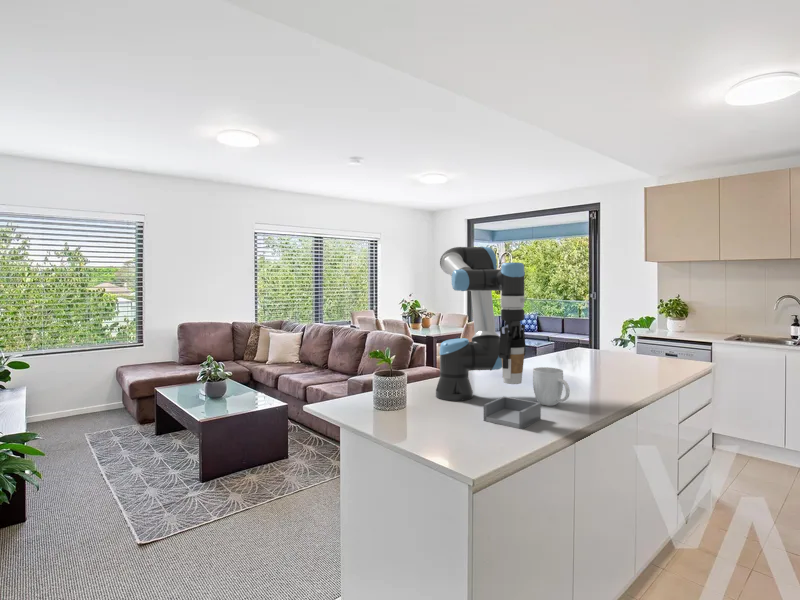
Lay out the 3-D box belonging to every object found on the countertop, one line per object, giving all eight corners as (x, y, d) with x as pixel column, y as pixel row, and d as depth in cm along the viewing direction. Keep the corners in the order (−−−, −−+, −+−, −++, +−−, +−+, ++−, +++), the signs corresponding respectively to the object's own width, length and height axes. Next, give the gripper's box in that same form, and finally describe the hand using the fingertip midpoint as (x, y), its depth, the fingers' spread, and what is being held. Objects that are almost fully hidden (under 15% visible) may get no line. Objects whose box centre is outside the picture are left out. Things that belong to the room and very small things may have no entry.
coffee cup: (521, 386, 149) (521, 340, 149) (496, 383, 154) (496, 338, 153) (528, 381, 156) (528, 337, 156) (504, 378, 161) (504, 336, 160)
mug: (577, 406, 171) (578, 372, 170) (559, 411, 165) (559, 375, 164) (545, 398, 183) (545, 366, 183) (526, 402, 177) (526, 369, 177)
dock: (483, 420, 155) (483, 404, 155) (503, 411, 166) (503, 396, 165) (522, 429, 146) (522, 412, 146) (540, 418, 156) (540, 403, 156)
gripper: (508, 310, 144) (508, 382, 145) (536, 307, 159) (535, 372, 160) (487, 309, 149) (487, 379, 150) (516, 306, 164) (516, 370, 165)
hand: (512, 376), depth 155 cm, fingers closed on coffee cup, 7 cm apart
